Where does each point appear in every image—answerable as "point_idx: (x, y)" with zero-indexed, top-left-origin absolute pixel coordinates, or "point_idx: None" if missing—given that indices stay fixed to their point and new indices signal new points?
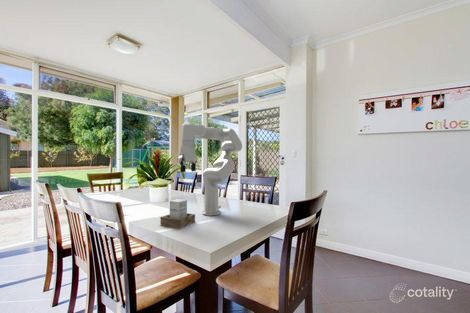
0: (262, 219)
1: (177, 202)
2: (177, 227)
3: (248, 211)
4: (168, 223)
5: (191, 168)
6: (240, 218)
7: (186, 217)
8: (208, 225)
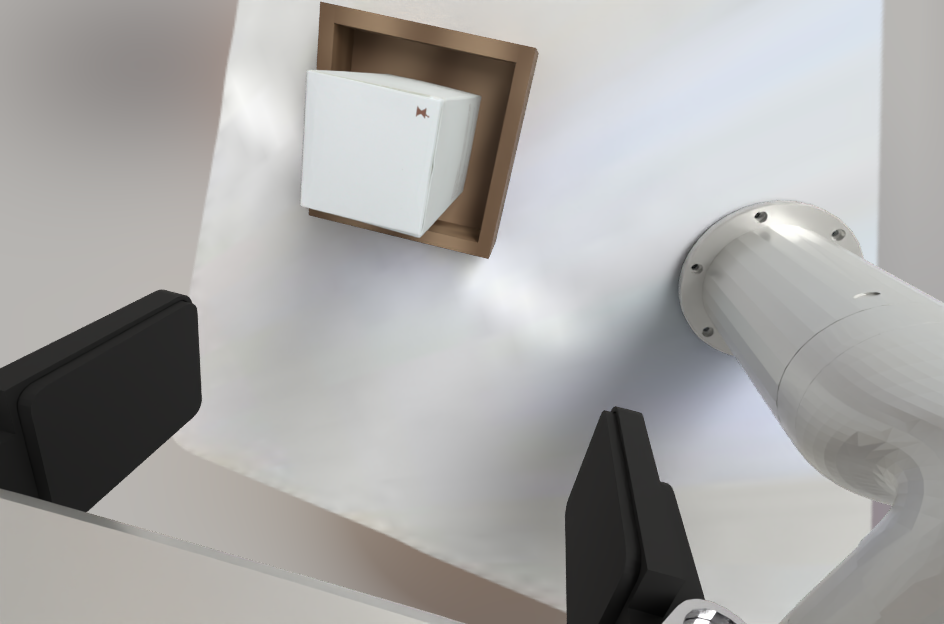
0: None
1: (301, 189)
2: None
3: (847, 523)
4: None
5: (608, 466)
6: None
7: (389, 232)
8: (447, 351)
